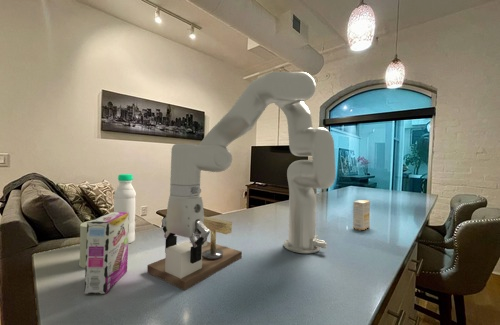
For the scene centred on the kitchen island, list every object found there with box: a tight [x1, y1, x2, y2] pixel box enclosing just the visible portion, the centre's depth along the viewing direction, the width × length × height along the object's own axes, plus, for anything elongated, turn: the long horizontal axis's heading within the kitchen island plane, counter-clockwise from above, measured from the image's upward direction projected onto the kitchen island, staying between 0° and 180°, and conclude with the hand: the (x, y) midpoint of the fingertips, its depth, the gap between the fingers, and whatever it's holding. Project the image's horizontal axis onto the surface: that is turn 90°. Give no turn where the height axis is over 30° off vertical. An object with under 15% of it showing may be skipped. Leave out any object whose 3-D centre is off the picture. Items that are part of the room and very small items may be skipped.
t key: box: [203, 215, 233, 260], centre depth 70 cm, size 12×6×11 cm, turn 56°
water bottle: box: [113, 173, 137, 245], centre depth 85 cm, size 7×7×25 cm
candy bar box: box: [84, 211, 129, 295], centre depth 57 cm, size 11×5×16 cm, turn 5°
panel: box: [146, 241, 243, 291], centre depth 68 cm, size 15×23×2 cm, turn 146°
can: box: [78, 219, 93, 269], centre depth 69 cm, size 9×9×12 cm
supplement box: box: [352, 199, 371, 231], centre depth 110 cm, size 8×5×13 cm, turn 133°
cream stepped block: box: [165, 239, 208, 279], centre depth 62 cm, size 6×10×6 cm, turn 146°
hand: (182, 256), depth 60 cm, fingers open, 9 cm apart
